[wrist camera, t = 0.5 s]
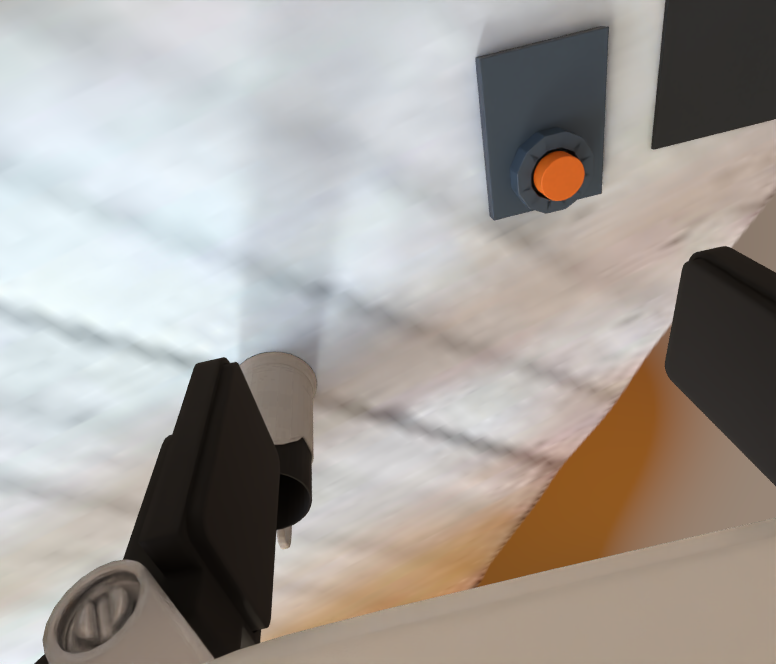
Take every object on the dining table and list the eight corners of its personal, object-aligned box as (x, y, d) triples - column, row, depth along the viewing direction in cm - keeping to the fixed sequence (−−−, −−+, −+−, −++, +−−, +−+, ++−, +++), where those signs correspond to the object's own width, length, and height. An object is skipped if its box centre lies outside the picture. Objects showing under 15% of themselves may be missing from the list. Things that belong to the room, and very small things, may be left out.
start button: (532, 156, 40) (540, 162, 38) (575, 145, 40) (585, 151, 38) (533, 199, 42) (542, 206, 40) (574, 188, 42) (584, 195, 40)
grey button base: (475, 57, 38) (486, 61, 35) (601, 26, 38) (621, 27, 35) (489, 216, 45) (500, 228, 42) (595, 189, 45) (612, 200, 42)
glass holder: (310, 346, 50) (311, 457, 37) (328, 444, 58) (334, 563, 45) (223, 358, 49) (194, 475, 37) (253, 455, 57) (238, 579, 45)
